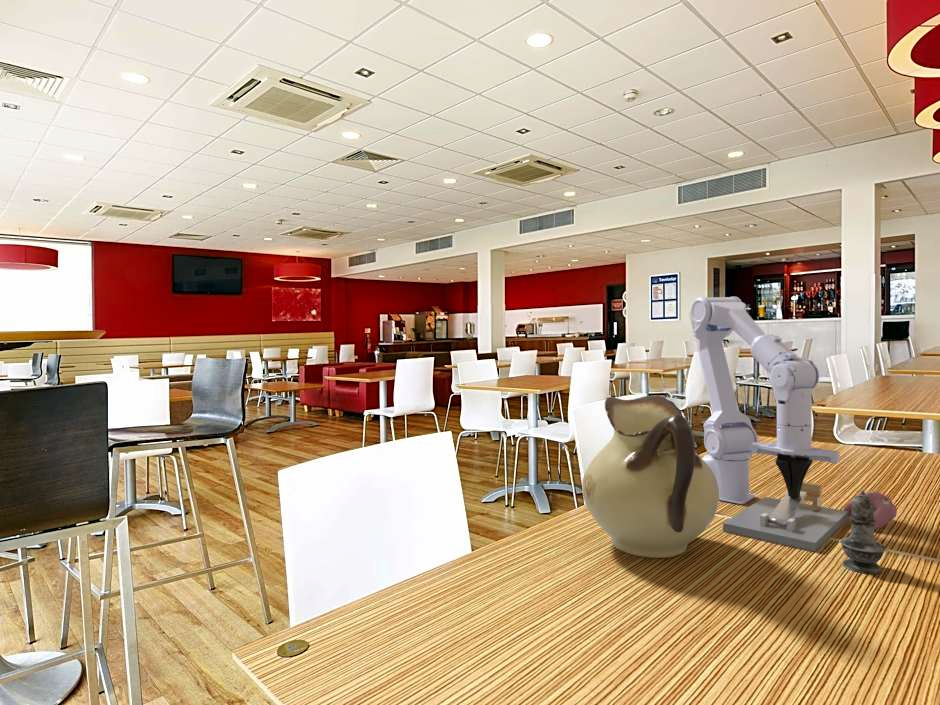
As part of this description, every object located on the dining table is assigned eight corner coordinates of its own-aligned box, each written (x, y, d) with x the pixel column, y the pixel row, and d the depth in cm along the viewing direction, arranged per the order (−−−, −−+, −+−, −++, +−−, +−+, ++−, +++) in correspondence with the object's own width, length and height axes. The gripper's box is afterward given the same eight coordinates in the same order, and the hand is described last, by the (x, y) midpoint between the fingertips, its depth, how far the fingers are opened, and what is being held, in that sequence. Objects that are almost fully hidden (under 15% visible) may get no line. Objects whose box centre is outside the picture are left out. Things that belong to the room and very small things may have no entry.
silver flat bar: (767, 523, 106) (767, 518, 106) (789, 493, 114) (789, 488, 114) (786, 527, 104) (785, 522, 104) (806, 496, 112) (806, 491, 112)
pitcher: (626, 515, 118) (624, 390, 117) (748, 545, 101) (748, 400, 100) (557, 547, 102) (555, 404, 101) (689, 589, 85) (688, 417, 84)
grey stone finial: (878, 561, 93) (879, 486, 92) (891, 577, 87) (892, 496, 87) (835, 557, 95) (835, 483, 94) (845, 572, 89) (846, 493, 89)
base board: (723, 531, 108) (722, 513, 108) (765, 503, 124) (765, 488, 123) (815, 551, 97) (815, 532, 97) (848, 519, 113) (848, 502, 113)
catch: (786, 505, 117) (786, 483, 117) (791, 502, 119) (791, 480, 119) (817, 511, 113) (817, 488, 113) (821, 507, 115) (821, 484, 115)
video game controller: (887, 541, 106) (907, 507, 105) (861, 528, 106) (881, 495, 105) (862, 523, 115) (881, 492, 114) (839, 511, 116) (857, 480, 115)
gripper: (745, 423, 113) (746, 493, 114) (832, 431, 103) (832, 508, 103) (758, 418, 118) (759, 486, 119) (842, 425, 108) (842, 499, 108)
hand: (794, 495), depth 111 cm, fingers closed, pressing on silver flat bar
